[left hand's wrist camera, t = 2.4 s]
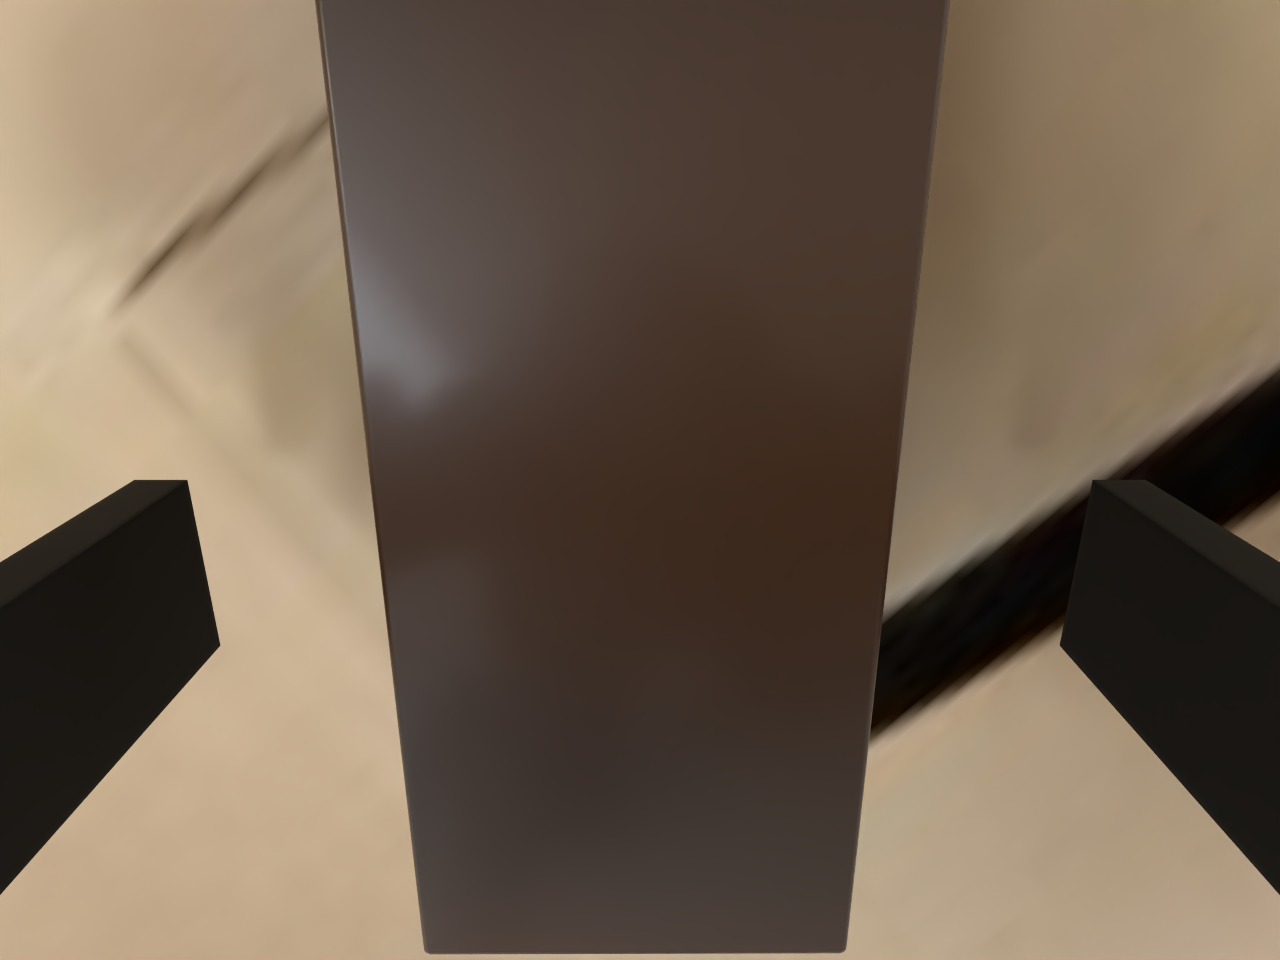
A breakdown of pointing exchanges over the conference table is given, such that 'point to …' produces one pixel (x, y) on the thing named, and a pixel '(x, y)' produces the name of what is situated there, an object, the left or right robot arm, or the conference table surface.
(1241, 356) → the conference table surface
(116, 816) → the conference table surface
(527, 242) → the walnut beam
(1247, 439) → the conference table surface
